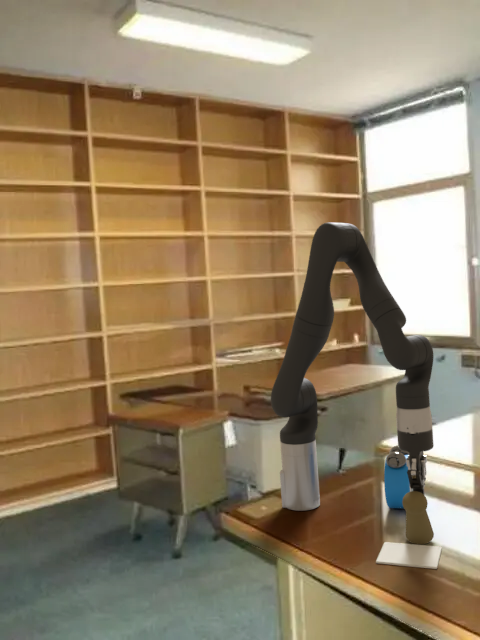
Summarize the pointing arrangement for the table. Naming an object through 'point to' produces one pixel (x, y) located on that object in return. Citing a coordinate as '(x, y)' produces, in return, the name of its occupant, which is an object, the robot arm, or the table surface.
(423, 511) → the cork
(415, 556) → the mat
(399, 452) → the alarm clock
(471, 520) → the table surface
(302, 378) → the robot arm
